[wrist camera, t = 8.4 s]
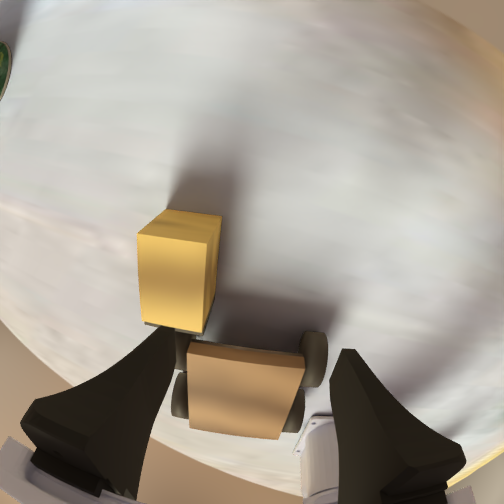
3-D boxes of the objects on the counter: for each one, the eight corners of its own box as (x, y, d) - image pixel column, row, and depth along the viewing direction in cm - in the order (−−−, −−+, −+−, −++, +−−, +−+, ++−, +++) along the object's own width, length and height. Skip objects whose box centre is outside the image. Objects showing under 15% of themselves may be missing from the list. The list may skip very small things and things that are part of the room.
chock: (214, 298, 23) (201, 339, 18) (165, 289, 23) (142, 328, 18) (222, 216, 20) (207, 243, 15) (166, 208, 20) (136, 233, 15)
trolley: (293, 406, 27) (294, 444, 23) (183, 391, 28) (172, 427, 23) (323, 321, 23) (331, 363, 18) (180, 301, 23) (162, 340, 18)
